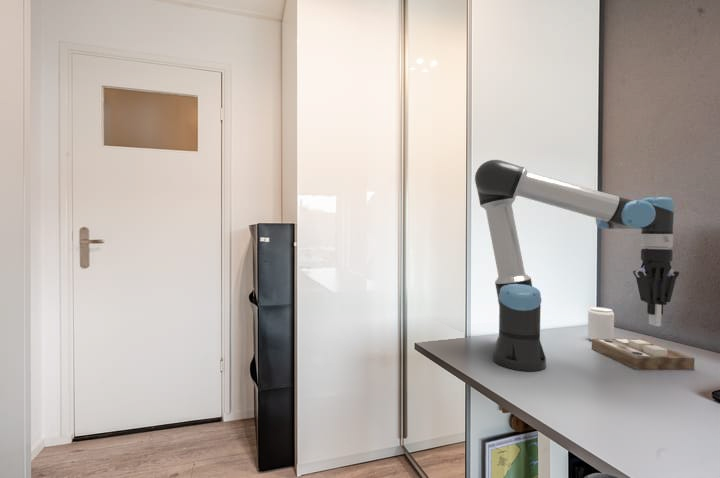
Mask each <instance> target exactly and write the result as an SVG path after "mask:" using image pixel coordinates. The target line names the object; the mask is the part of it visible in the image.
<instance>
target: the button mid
mask: <svg viewBox="0 0 720 478" xmlns="http://www.w3.org/2000/svg"><path fill="white" fill-rule="evenodd" d="M644 345H651V343H648V342H645V341H642V340H628V346H629V347H632V348H634V349H637V350H643V347H644Z"/></svg>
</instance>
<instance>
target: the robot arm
mask: <svg viewBox="0 0 720 478" xmlns="http://www.w3.org/2000/svg"><path fill="white" fill-rule="evenodd" d="M474 182H475V186H476V190H477V195H478V200H479V205H480V207H481V208H482V209H484V211H485V213H486V219H487V224H488V229H489V233H490V239H491V245H492V249H493V255H494V259H495V266H496V271H497V278H496V280H495V281H494V284H495V290H496V294H497V302H498V307H499V308H498V311H499V312H498V313H499V315H498V316H499V317H498V336H497V340H496V341H495V342H496V343H495V345H494V347H493V350H492V361H493V362H495V364H497V365H499V366H502V367H504V368H508V369H511V370H517V371H522V372H523V371H525V372H536V371H537V372H538V371H542V370H544V369H546V368H547V358H546V355H545V351H544V348H543V345H542V342H541V308H542V305H541V304H542V296H541V291H540V290H539V289H538V288H537V287H535V286H533V283H532V279H531V276H530V275H528V274H526V271H525V267H524V261H523V257H522V251H521V246H520V241H519V236H518V229H517V225H516V221H515V215H514V211H513V203H514V202H515V201H516V197H521V198H524V199H529V200H532V201H536V202H540V203H542V204H546V205H550V206H553V207H556V208H560V209H563V210H566V211H570V212H573V213H577V214H580V215H583V216H584V215H585V216H588V217H591V218H595V224H596V227H598V228H599V229H604V230H606V229H607V230H613V229H614V230H625V229H627V230H628V229H631V230H632V229H635V230H637V229H638V230H639V229H640V230H641V232H640V233H641V234H640V235H641V236H640V238H641V239H640V246H641V247H642V248H641V249H640V260H641V261H642V264H641V265H640V268H639V269H638V270H634V271H632V273H633V275H634V277H635V279H636V284H637V289H638V293H639V299H640V301H642V302H644V303H646V304H647V306H646V307H647V308H646V309H647V310H646V313H647V314H648V324H649V325H650V326H654V327H662V316H663V314H664V306H667V305H668V303H670V302H671V299H672V296H673V293H674V292H673V291H674V287H675V283H676V280H677V278H678V277H679V275H680V271H677V270H674V269H673V268H672V265H671V262H673V259H674V258H673V257H674V256H673V254H674V253H673V252H674V251H673V250H672V249H671V248H673V245H674V243H673V242H674V217H675V205H674V200H673V198H671V197H668V196H667V197H666V196H661V197H660V196H657V197H646V198H645V197H644V198H643V199H642V200H640V199H635V200H633V199H629V198H624V197H620V196H618V195H614V194H610V193H607V192H603V191H599V190H596V189H592V188H589V187H584V186H581V185H578V184H573V183H569V182H566V181H563V180H558V179H555V178H552V177H548V176H547V177H546V176H544V175H541V174H536V173H534V172H533V173H532V172H528V170H527V168H526V167H524V166H520V165H517V164H513V163H510V162H507V161H504V160H501V159H490V160H487V161H485V162H484V163H482V164H481V165H479V167H478V168H477V170H476V172H475V174H474Z"/></svg>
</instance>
